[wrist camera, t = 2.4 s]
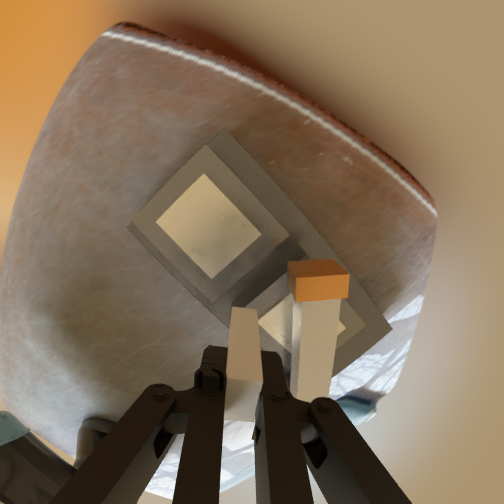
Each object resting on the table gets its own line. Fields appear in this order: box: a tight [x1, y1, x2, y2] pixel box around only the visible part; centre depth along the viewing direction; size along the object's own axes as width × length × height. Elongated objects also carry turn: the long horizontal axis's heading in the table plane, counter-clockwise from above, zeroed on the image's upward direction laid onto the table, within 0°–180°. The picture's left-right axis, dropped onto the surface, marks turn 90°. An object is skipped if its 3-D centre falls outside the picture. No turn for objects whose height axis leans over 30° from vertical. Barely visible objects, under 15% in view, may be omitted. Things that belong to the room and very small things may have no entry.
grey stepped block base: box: [127, 129, 392, 391], centre depth 24 cm, size 14×26×8 cm, turn 42°
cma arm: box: [287, 259, 350, 403], centre depth 19 cm, size 18×4×3 cm, turn 2°
